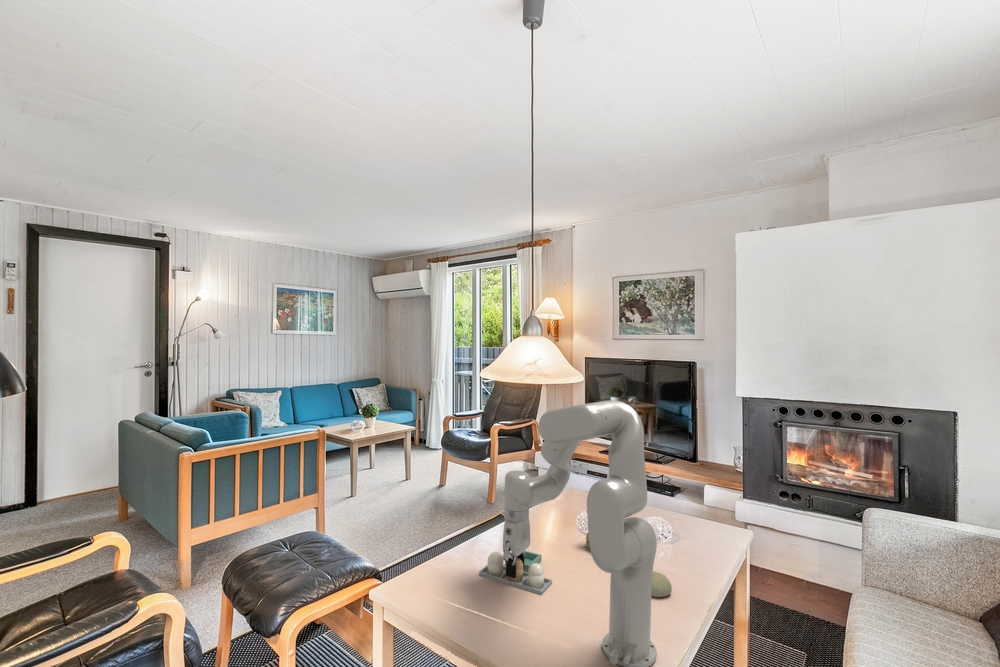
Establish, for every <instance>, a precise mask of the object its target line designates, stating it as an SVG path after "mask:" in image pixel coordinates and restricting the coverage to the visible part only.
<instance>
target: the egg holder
mask: <svg viewBox="0 0 1000 667" xmlns="http://www.w3.org/2000/svg"><path fill="white" fill-rule="evenodd" d="M523 557H525V563H524V570H523V571H524V572H527V573H528V569H529V567H530V565H532V564H533V563H538V564H540V565H541V563H542V558H543V557H542V554H539V553H535V552H532V551H528V550H525V556H523ZM509 558H513V556H510V555H509Z"/></svg>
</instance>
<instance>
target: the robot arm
mask: <svg viewBox="0 0 1000 667" xmlns="http://www.w3.org/2000/svg"><path fill="white" fill-rule="evenodd" d="M537 425H538V429H537V430H538V434H539V437H541V439H542V440H544V441H543V443H542V445H541V447H540V455H541V456H542V458H543V459H544V461H546V463H548V464H549V465H550V466H549V468H548V470H547V471H546V472H545V473H544V474H541V475H537V476H534V477H530V475H529V473H527V472H526V471H522V470H511V471H508V472H506V473H505V476H504V499H503V500H504V505H503V507H504V509H503V511H504V512H503V518H504V524H503V534H502V552H503V554H502V556H503V561H504V562H505V566H506V576H508V577H511V578H516V564H515V561H516V557H517V558H519V559H521V561H522V562H523V570H524V563H525V557H523V556H525V551H527V549H528V548H529V547H530V545H531V525H530V508H531V507H535V506H537V505H541V504H544V503H547V502H549V501H553V500H555V499H557V498H558V497H559V496H560V495H561V494H562V492H563V491H564V489H565V487H567V484H568V482H569V480H570V478H571V465H570V461H571V458H572V456H573V455H574V453H575V451H576V449H577V448H578V447H579V445H580V443H581V441H587V440H589V441H590V440H593V439H598V438H602V437H606V436H610V437H612V440H611V443H610V445H609V449H608V458H607V459H608V460H607V461H608V477H606V478H602V479H600V480H597V481H596V482H594V483H593V484H592V485H591V487H590V488H589V490H588V493H587V497H586V514H587V515H586V516H587V526H588V527H587V528H588V531H587V533H589V545H590V547H589V551H590V555H591V558H592V559H593V561H594V562H593V563H594V564H595V565H596V566H597V567H598V569H600V570H601V571H603V572H604V573H606V574H607V573H608V574H610V581H609V583H610V585H609V586H610V587H609V616H608V617H609V622H608V623H609V624H608V626H609V627H608V633H606V634H605V635H604V636H603V638H602V641H601V647H602V651H603V653H604V654H605V656H606V657H607V658H608V660H609V663H611V665H614V666H615V665H619V666H621V667H650V666H652V665H654V664H655V662H656V660H657V658H658V657H657V655H658V652H657V648H656V646H655V644H654V643H653V642H652V641H651V625H652V624H651V623H652V622H651V618H652V596H651V591H652V572H653V570H654V564H655V559H656V554H657V549H658V548H657V546H658V542H657V540H658V539H657V534H656V532H655V530H654V528H653V527H652V526H653V525H651V524H650V523H649V522H648V521H647V520H645V519H644V518H641V517H637V516H633V515H635V514H638V513H640V512H641V511H643V510H644V509H645V507H646V506H647V504H648V485H647V473H646V471H647V470H646V462H645V461H646V460H645V431H644V426H643V425H644V424H643V422H642V419H641V417H640V415H639V414H638V412H637V411H636V410H635V408H634V407H632V406H631V405H629V404H627V403H626V402H623V401H620V400H611V399H610V400H600V401H597V402H590V403H581V404H577V405H572V406H566V407H561V408H555V409H549V410H547V411H545V412H544V413H543V414H542V415H541V416H540V418H539V421H538V424H537ZM509 556H513V559H511V558H509Z"/></svg>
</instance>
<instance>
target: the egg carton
mask: <svg viewBox="0 0 1000 667" xmlns="http://www.w3.org/2000/svg"><path fill="white" fill-rule="evenodd" d="M478 576H481V577H482V578H486V579H490V580H492V581H496V582H499V583H502V584H505V585H509V586H512V587H515V588H519V589H521V590H524V591H527V592H530V593H533V594H537V595H540V596H543V595H544V594H545V593H546V592H547V590H548V589H549V588H550V587H551V585H553V580H552V579H551V578H547V577H544V587H543V588H542V589H540V590H539V589H535V588H532V587H529V586H528V572H525V571H523V581H522V582H520V583H516V582H513V581H510V580H507V576H506V565H504V564H503V574H502V575H501V576H499V577H497V576H494V575H491V574H488V564H486V565H485V566H484V567H482V569H481V570H479V571H478Z"/></svg>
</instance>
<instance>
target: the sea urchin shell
mask: <svg viewBox="0 0 1000 667" xmlns="http://www.w3.org/2000/svg"><path fill="white" fill-rule="evenodd" d="M671 593H672V584H671V581H670V579H669V578H668V577H667V576H666V575H665V574H663V573H662V572H658V571H653V572H652V591H651V597H655V598H662V597H667V596H669V595H671Z"/></svg>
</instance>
